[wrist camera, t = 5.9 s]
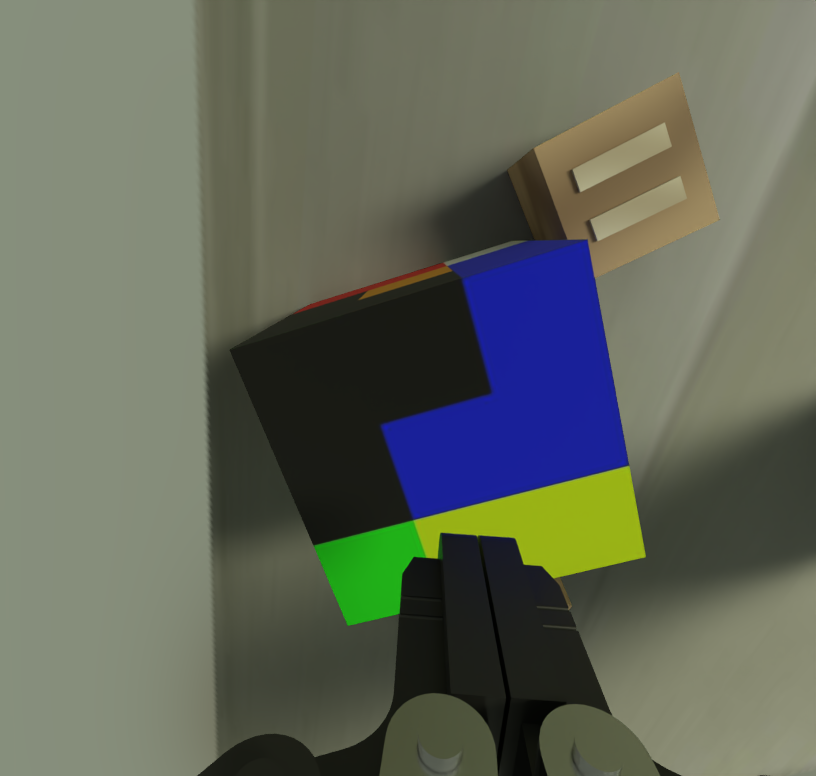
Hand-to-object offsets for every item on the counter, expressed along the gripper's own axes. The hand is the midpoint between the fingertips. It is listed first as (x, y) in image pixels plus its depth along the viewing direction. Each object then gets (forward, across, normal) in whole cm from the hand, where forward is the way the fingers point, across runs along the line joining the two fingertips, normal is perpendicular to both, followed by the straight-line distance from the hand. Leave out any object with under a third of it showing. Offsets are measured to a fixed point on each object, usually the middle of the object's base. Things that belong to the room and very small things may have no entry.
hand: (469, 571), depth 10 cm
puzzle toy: (+15, 0, 0) cm, 15 cm away
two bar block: (+14, -5, -9) cm, 18 cm away
